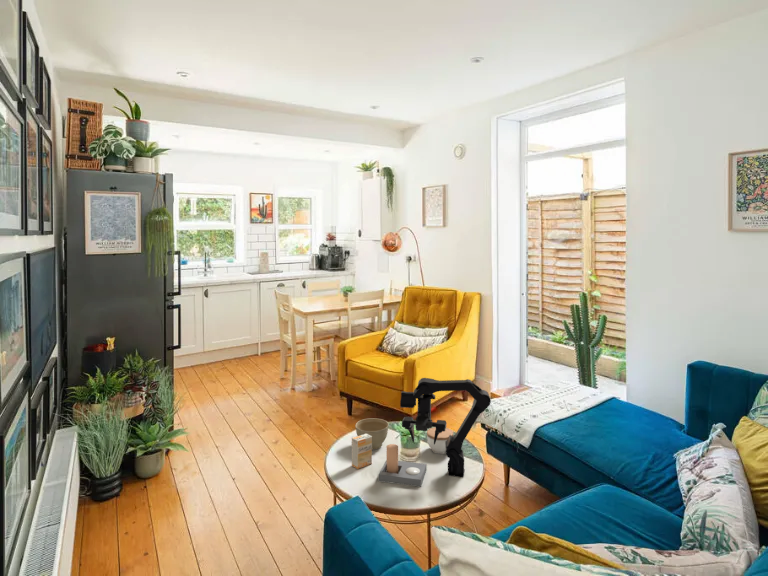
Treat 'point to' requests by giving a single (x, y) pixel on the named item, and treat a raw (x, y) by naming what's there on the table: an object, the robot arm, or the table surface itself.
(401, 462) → the plate
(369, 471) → the table surface
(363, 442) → the supplement box
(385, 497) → the table surface
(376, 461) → the table surface
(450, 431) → the lidded bowl
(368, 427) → the planter bowl
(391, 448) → the cylinder
